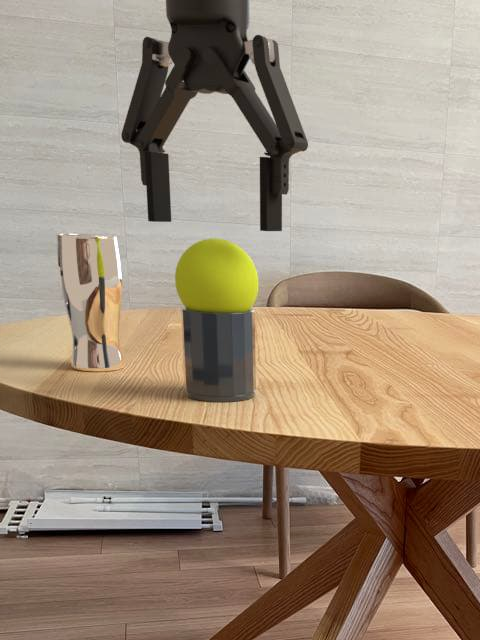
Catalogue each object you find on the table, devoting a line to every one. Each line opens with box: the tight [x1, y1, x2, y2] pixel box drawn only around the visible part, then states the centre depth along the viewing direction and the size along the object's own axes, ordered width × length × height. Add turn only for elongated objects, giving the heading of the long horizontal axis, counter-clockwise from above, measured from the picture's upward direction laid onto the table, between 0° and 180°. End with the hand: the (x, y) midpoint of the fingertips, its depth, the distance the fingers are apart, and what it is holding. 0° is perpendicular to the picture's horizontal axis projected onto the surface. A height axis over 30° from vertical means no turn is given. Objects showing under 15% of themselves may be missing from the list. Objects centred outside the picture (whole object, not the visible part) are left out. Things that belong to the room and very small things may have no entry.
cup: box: [180, 306, 257, 403], centre depth 88 cm, size 7×7×9 cm
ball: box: [174, 237, 260, 313], centre depth 85 cm, size 8×8×8 cm
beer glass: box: [56, 232, 126, 372], centre depth 97 cm, size 7×7×15 cm
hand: (213, 226), depth 83 cm, fingers open, 13 cm apart
